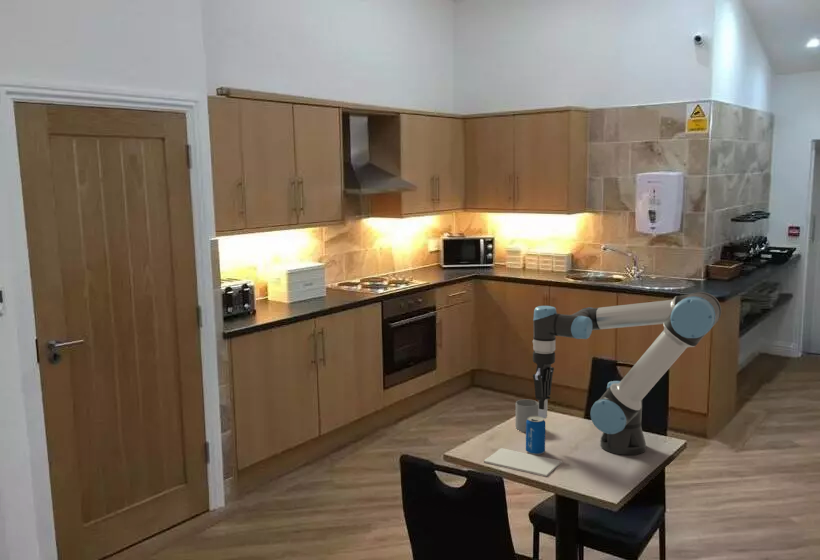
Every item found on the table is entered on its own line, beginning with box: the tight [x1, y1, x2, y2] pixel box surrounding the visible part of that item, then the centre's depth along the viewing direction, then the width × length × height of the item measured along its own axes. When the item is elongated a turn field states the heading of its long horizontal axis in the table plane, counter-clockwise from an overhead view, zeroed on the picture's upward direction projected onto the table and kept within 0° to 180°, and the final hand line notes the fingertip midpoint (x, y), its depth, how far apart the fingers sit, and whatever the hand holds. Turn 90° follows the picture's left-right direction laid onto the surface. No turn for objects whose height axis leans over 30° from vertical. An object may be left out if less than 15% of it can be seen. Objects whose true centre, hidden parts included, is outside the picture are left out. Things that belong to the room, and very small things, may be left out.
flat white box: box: [483, 447, 563, 477], centre depth 236 cm, size 22×13×1 cm, turn 57°
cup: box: [514, 398, 539, 433], centre depth 267 cm, size 8×8×10 cm
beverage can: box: [525, 416, 546, 456], centre depth 244 cm, size 6×6×12 cm
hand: (542, 417), depth 249 cm, fingers closed
